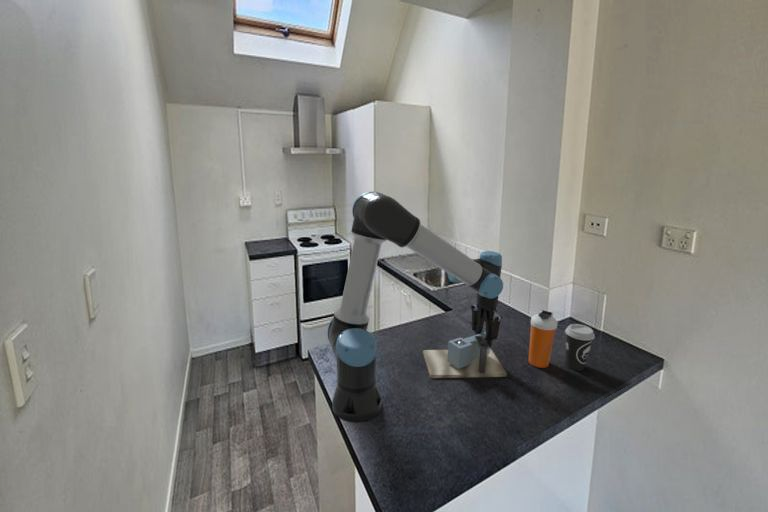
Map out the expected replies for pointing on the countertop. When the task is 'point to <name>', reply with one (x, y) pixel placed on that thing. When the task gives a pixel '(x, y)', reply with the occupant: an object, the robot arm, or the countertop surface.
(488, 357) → the board
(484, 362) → the post
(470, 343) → the link
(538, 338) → the shaker bottle
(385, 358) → the countertop surface
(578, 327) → the coffee cup
